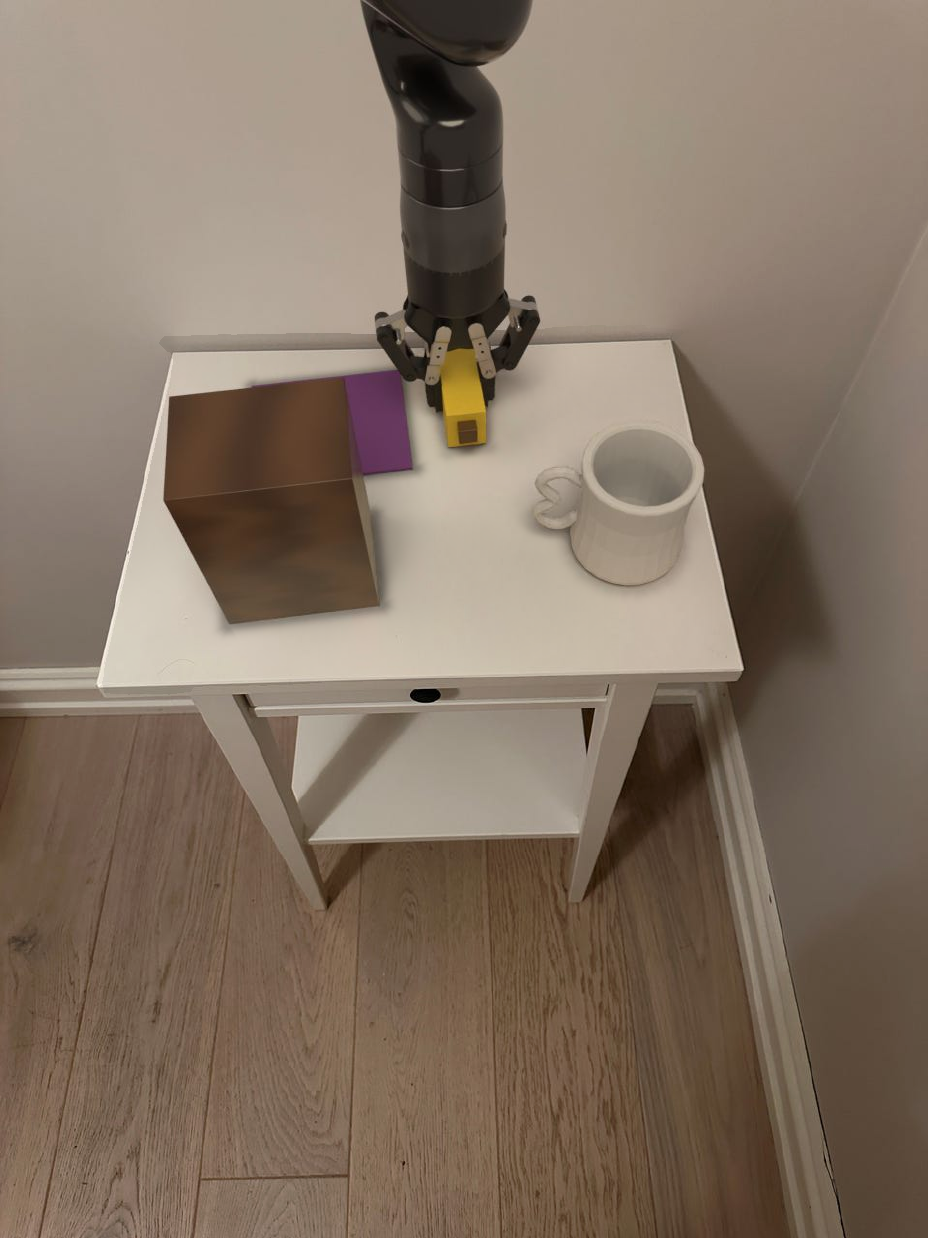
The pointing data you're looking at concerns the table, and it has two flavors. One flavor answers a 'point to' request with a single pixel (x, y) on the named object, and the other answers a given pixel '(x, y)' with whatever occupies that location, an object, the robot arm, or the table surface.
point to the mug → (628, 500)
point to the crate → (272, 498)
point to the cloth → (377, 420)
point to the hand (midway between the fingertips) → (460, 402)
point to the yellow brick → (462, 399)
